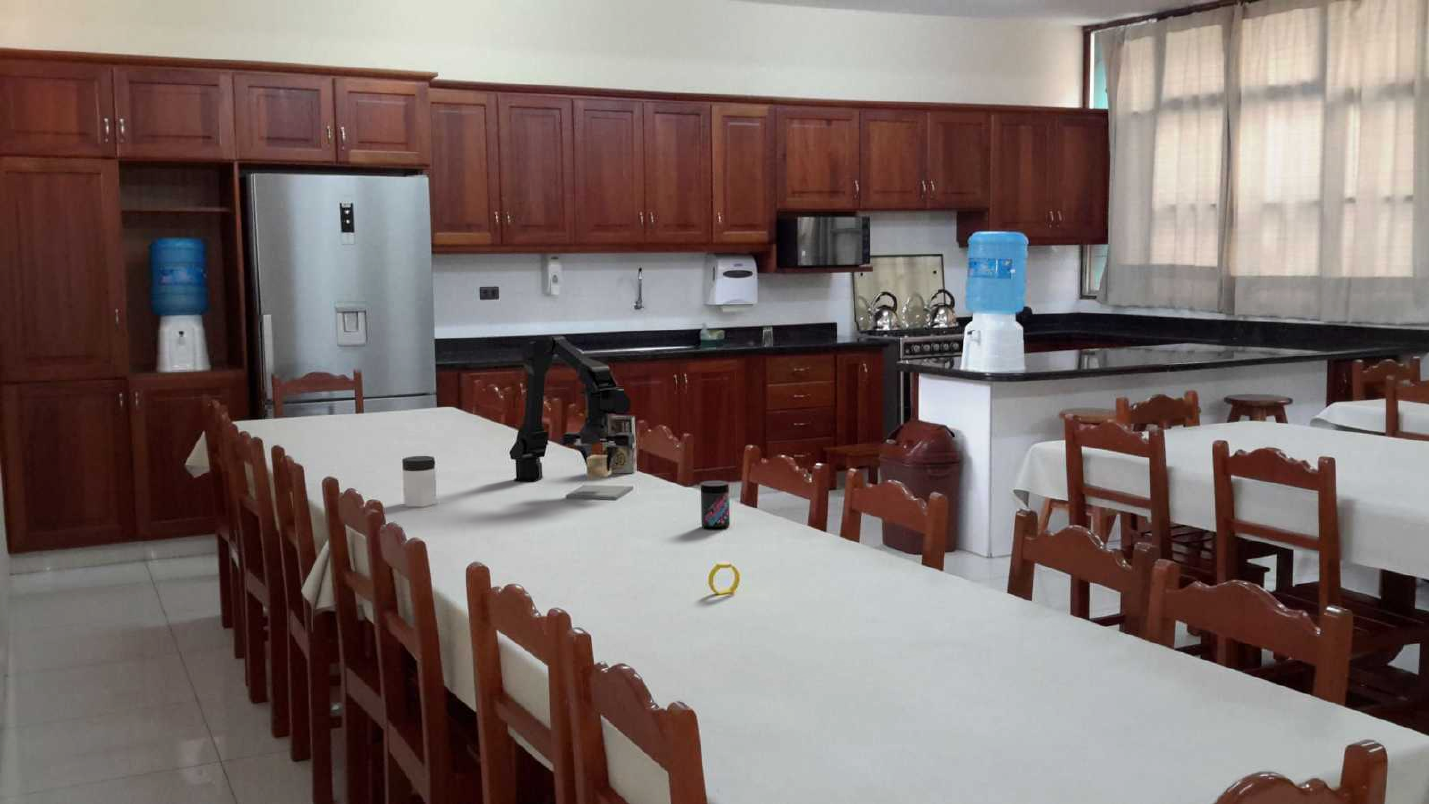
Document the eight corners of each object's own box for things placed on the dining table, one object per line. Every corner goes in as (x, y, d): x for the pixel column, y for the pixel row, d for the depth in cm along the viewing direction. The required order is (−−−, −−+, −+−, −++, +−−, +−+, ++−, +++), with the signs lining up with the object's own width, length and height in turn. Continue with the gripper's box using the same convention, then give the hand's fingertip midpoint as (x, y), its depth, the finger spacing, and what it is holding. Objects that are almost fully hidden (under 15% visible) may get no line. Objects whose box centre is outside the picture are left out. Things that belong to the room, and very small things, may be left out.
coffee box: (637, 469, 367) (635, 415, 365) (633, 473, 361) (632, 418, 359) (606, 469, 368) (605, 415, 366) (602, 473, 362) (601, 418, 359)
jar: (439, 505, 321) (436, 459, 319) (406, 508, 318) (404, 462, 316) (434, 499, 329) (432, 454, 327) (402, 502, 326) (400, 456, 325)
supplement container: (698, 530, 288) (697, 485, 287) (704, 523, 295) (703, 480, 293) (726, 531, 287) (726, 486, 285) (732, 524, 293) (731, 480, 292)
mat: (565, 498, 327) (565, 494, 327) (584, 487, 341) (584, 484, 341) (616, 499, 324) (616, 496, 324) (633, 489, 337) (633, 486, 337)
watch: (734, 590, 239) (735, 560, 238) (741, 594, 236) (742, 563, 236) (706, 593, 236) (707, 562, 235) (712, 596, 233) (714, 565, 233)
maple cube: (587, 476, 330) (586, 458, 329) (593, 473, 335) (593, 454, 334) (605, 477, 329) (604, 458, 328) (611, 473, 333) (610, 455, 333)
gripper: (552, 416, 324) (554, 475, 326) (621, 417, 319) (623, 477, 322) (568, 410, 335) (570, 467, 337) (634, 411, 330) (636, 469, 332)
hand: (599, 470), depth 332 cm, fingers closed on maple cube, 5 cm apart
